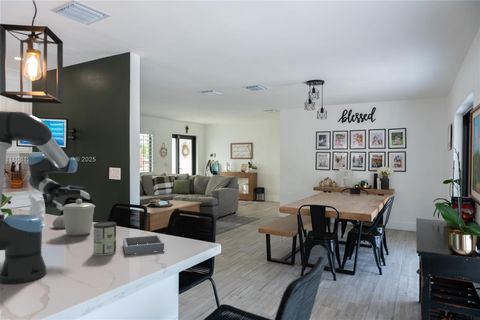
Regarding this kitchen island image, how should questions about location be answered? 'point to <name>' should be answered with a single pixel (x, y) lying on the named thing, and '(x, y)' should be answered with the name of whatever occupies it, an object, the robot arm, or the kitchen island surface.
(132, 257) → the kitchen island surface
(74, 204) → the canister
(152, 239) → the grey square tray
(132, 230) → the kitchen island surface
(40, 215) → the cherub figurine
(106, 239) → the coffee can
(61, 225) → the sea urchin shell
